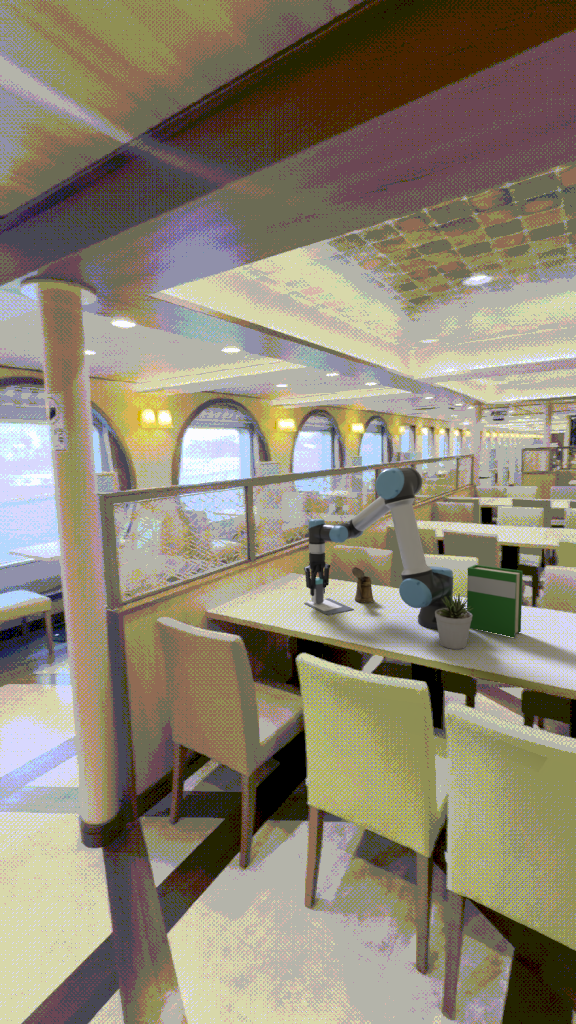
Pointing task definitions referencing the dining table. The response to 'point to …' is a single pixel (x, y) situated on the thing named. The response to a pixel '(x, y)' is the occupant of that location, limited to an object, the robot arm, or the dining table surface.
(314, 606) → the writing mat
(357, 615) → the dining table surface
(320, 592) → the marker
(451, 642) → the potted plant
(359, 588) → the wooden mug
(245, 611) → the dining table surface
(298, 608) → the dining table surface
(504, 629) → the hardback book
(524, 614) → the dining table surface
